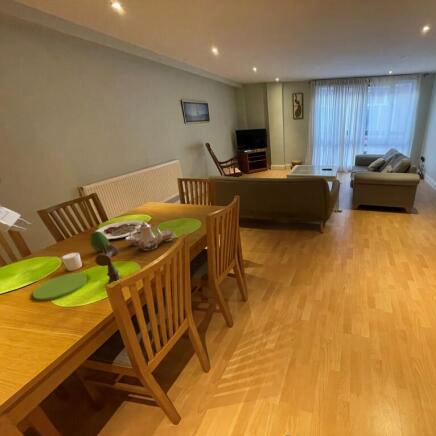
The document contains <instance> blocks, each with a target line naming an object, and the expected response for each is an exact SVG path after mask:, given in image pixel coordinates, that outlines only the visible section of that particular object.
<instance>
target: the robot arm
mask: <svg viewBox="0 0 436 436" xmlns="http://www.w3.org/2000/svg"><path fill="white" fill-rule="evenodd" d="M0 183H2V179H1V178H0ZM21 216H22V215H21V214H20V213H19V212H16V211H14V210H12V209H9V208H6V207H4V206H2V204H0V232H3V233H8V232H9V231H12V232H19V233H22V234H25V233H26V232H27V231H28V229H27V228H29V227H30V226H31V225H32V223H31V222H28V221H27V220H25V219H23V218H20V217H21ZM17 224H20V225H22V226H18V225H17Z"/></svg>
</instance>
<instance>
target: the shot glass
mask: <svg viewBox="0 0 436 436" xmlns="http://www.w3.org/2000/svg"><path fill="white" fill-rule="evenodd" d="M60 260H61V261H62V262H63V264H64V266H65V268H66V270H67V271H69V272H72V271H76V270H79V269H80V268H82V267H83V264H82V259H81V255H80V252H77V251H76V252H70V253H66V254H64V255H63V256H61V257H60Z"/></svg>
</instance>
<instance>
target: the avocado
mask: <svg viewBox="0 0 436 436" xmlns="http://www.w3.org/2000/svg"><path fill="white" fill-rule="evenodd" d="M95 231H96V232H95ZM95 231H93V232H92V233H91V235H90V246H91V247H92V249H93V250H95V251H97V252H103V246H102V243H104V245H105V246H107V245H110V240H109V239H107V238H106V236H105V235H103V234H102V233H101V232H98V231H97V230H95Z"/></svg>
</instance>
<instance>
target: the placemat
mask: <svg viewBox="0 0 436 436" xmlns="http://www.w3.org/2000/svg"><path fill="white" fill-rule="evenodd" d="M87 281H88V276H87V275H86V274H85V273H83V272H72V273H66V274H63V275H58V276H56V277H54V278H51V279H48V280H47V281H44V282H43V283H42V284H39V286H37V287H36V288H35V289H34V290H33V292H32V296H33V298H34V299H35V300H37V301H49V300H55V299H59V298H62V297H65V296H67V295H69V294H71V293H73V292H75V291H77V290H79V289H80V288H82V287H83V286H84V285H85V284H86V283H87Z"/></svg>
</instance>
